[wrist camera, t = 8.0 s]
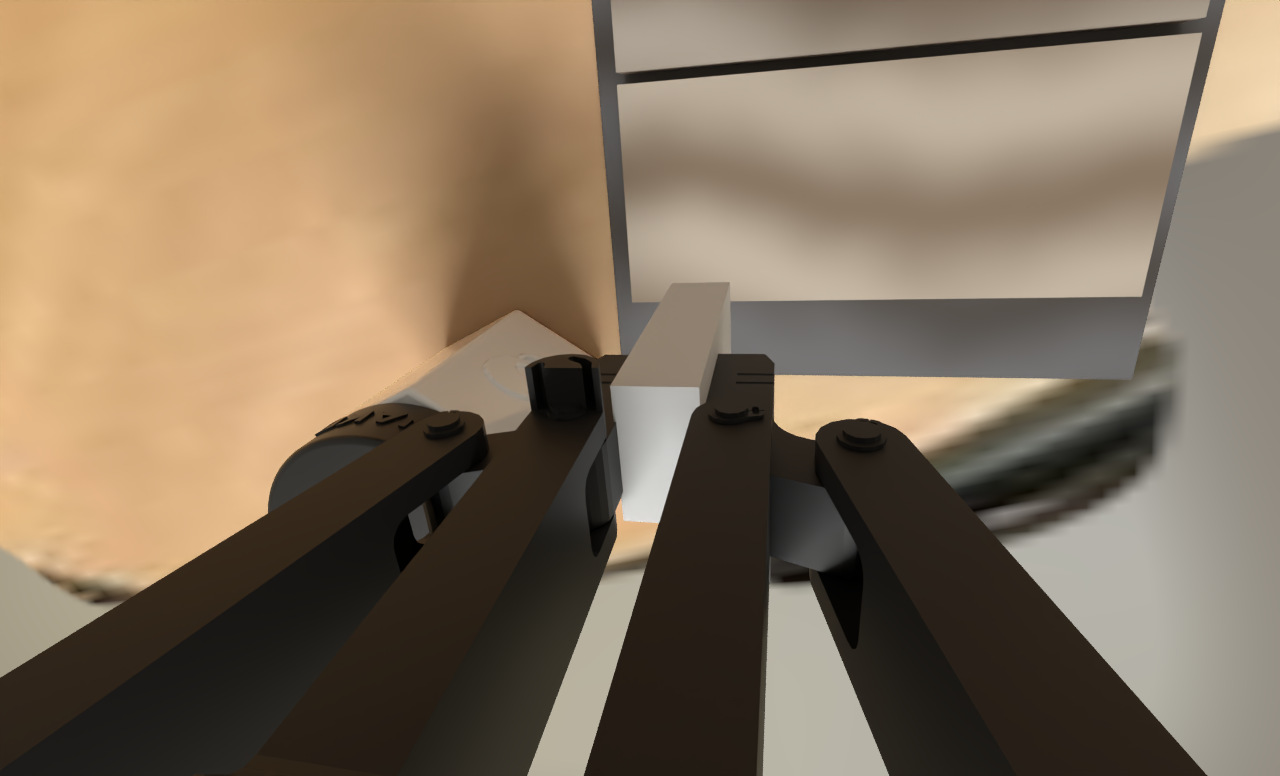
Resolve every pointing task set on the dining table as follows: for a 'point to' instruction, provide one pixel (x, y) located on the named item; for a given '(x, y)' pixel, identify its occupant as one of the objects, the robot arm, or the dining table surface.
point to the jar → (432, 402)
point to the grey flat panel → (871, 32)
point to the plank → (908, 174)
